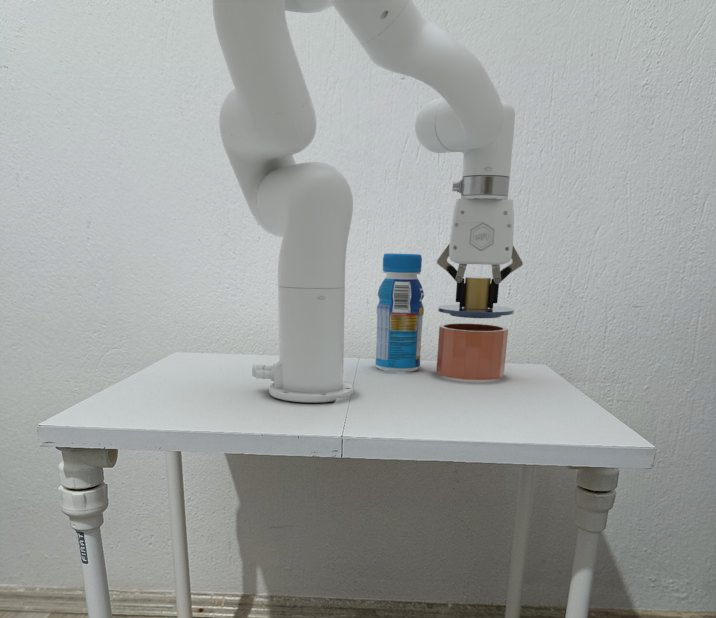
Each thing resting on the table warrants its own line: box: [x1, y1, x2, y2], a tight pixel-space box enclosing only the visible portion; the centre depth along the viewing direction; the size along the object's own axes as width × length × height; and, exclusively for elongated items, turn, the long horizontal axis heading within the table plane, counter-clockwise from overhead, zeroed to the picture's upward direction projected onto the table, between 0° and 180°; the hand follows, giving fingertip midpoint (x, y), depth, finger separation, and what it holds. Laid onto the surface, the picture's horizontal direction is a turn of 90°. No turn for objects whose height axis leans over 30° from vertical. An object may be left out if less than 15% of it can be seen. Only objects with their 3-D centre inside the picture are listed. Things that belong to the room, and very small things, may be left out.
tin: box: [435, 322, 509, 381], centre depth 115 cm, size 12×12×8 cm
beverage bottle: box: [375, 252, 425, 373], centre depth 118 cm, size 8×8×20 cm
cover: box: [437, 276, 515, 319], centre depth 112 cm, size 13×13×6 cm
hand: (475, 306), depth 113 cm, fingers closed on cover, 4 cm apart
